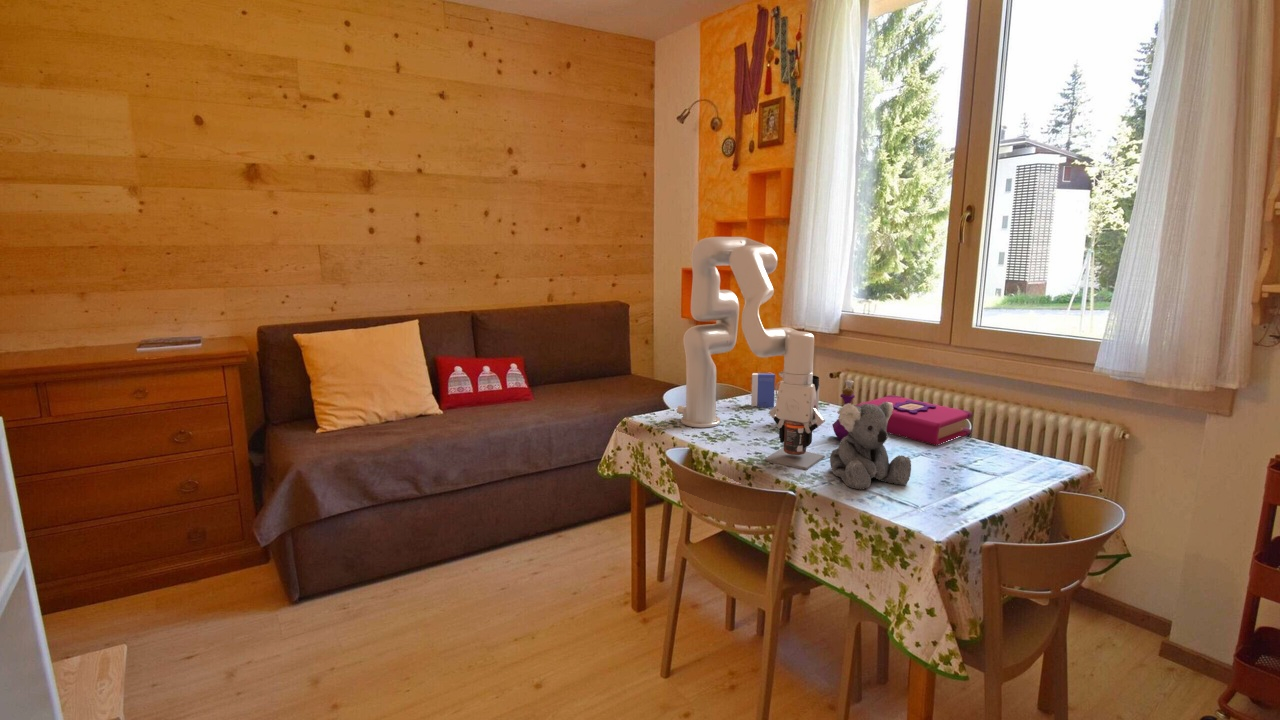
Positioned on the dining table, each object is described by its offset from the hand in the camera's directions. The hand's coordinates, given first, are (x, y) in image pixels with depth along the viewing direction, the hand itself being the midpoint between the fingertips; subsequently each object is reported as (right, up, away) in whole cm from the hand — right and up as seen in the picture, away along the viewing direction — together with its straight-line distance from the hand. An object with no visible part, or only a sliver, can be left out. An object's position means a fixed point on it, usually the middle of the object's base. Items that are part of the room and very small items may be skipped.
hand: (795, 443), depth 179 cm
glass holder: (+9, +2, +35) cm, 36 cm away
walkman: (+1, +6, +55) cm, 55 cm away
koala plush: (+14, -7, -12) cm, 20 cm away
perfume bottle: (+19, -1, +17) cm, 26 cm away
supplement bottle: (0, -3, +1) cm, 3 cm away
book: (+43, 0, +28) cm, 51 cm away
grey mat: (0, -4, +1) cm, 4 cm away
